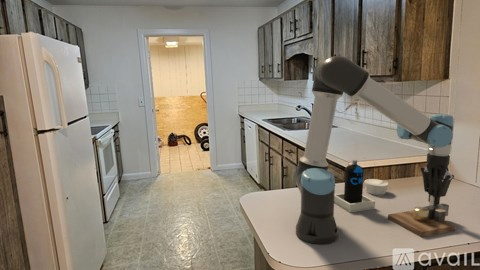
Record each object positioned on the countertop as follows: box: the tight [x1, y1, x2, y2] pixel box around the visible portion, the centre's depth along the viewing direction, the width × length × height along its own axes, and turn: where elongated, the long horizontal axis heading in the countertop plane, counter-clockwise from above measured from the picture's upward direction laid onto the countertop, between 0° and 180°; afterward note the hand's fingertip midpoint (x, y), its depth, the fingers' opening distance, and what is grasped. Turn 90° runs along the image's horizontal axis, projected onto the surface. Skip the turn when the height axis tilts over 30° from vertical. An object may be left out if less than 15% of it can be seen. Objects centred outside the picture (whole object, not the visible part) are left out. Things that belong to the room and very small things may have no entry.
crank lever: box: [413, 203, 450, 222], centre depth 121 cm, size 16×5×4 cm, turn 109°
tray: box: [334, 192, 376, 214], centre depth 139 cm, size 13×13×4 cm
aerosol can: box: [343, 159, 365, 204], centre depth 138 cm, size 8×8×20 cm
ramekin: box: [363, 178, 389, 196], centre depth 156 cm, size 11×11×5 cm
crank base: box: [387, 209, 457, 238], centre depth 119 cm, size 16×16×6 cm
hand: (432, 211), depth 124 cm, fingers closed
